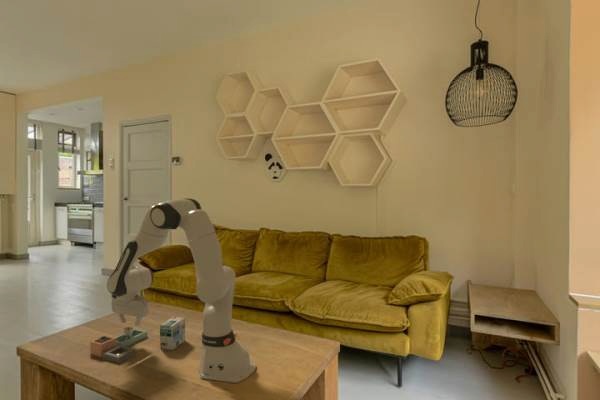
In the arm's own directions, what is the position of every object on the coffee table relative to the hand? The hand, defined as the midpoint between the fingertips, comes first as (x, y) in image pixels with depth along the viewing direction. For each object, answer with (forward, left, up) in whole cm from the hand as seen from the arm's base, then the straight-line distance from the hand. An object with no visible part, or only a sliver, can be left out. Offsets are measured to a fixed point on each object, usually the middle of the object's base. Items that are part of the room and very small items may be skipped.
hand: (130, 324), depth 154 cm
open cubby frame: (+1, +13, -9) cm, 15 cm away
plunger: (-8, +13, -8) cm, 17 cm away
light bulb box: (-19, -6, -9) cm, 22 cm away
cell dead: (+1, +13, -8) cm, 15 cm away
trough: (+1, +1, -9) cm, 9 cm away
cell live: (+1, +1, -8) cm, 8 cm away
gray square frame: (-8, +13, -9) cm, 17 cm away
